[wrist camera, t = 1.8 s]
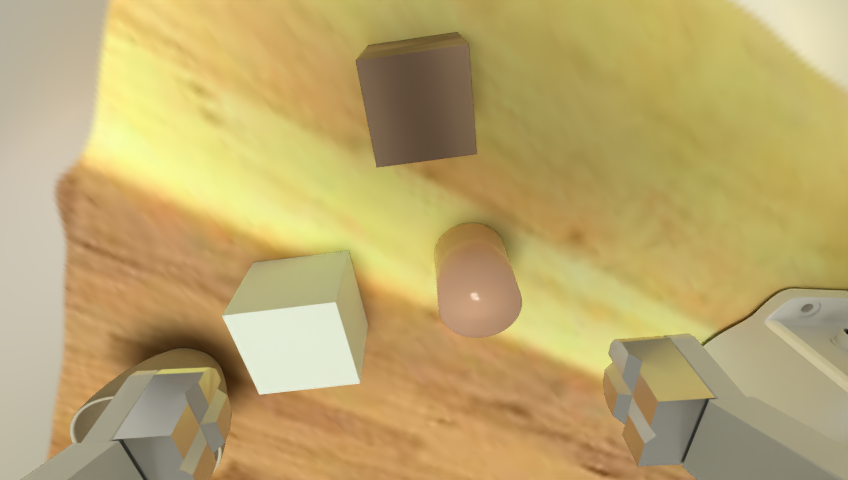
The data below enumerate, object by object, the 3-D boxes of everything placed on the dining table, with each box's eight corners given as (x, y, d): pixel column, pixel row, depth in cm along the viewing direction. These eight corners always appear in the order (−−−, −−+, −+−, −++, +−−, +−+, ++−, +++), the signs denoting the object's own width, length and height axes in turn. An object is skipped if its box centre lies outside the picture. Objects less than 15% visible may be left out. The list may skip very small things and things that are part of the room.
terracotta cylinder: (502, 218, 30) (520, 267, 25) (505, 277, 32) (522, 332, 27) (430, 227, 30) (433, 277, 25) (438, 285, 33) (443, 341, 28)
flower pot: (269, 401, 39) (241, 480, 33) (162, 414, 39) (115, 494, 33) (227, 315, 34) (185, 389, 28) (105, 331, 34) (37, 407, 28)
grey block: (348, 249, 31) (335, 301, 26) (368, 324, 35) (360, 383, 29) (253, 261, 32) (222, 315, 26) (282, 334, 35) (259, 394, 30)
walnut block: (457, 32, 24) (468, 44, 19) (464, 121, 27) (477, 154, 21) (368, 45, 24) (355, 60, 19) (384, 132, 27) (376, 167, 22)
